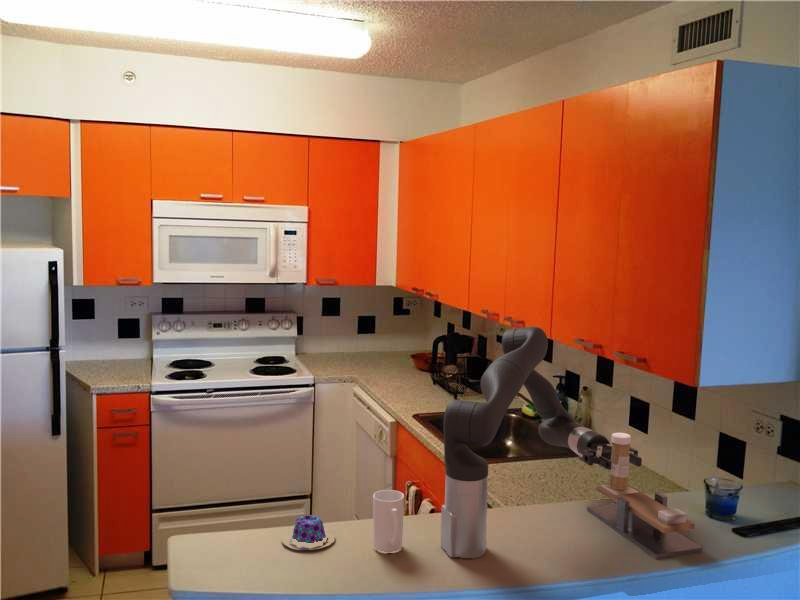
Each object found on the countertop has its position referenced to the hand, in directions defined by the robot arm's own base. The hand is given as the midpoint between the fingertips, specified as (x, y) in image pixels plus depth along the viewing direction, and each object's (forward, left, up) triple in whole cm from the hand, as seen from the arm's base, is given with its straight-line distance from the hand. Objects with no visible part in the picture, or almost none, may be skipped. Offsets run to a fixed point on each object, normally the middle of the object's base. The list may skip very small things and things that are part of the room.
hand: (625, 464), depth 175 cm
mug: (-60, -1, -14) cm, 62 cm away
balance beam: (0, -7, -8) cm, 10 cm away
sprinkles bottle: (0, +2, -7) cm, 7 cm away
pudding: (-76, +9, -14) cm, 78 cm away
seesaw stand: (0, -7, -14) cm, 15 cm away
